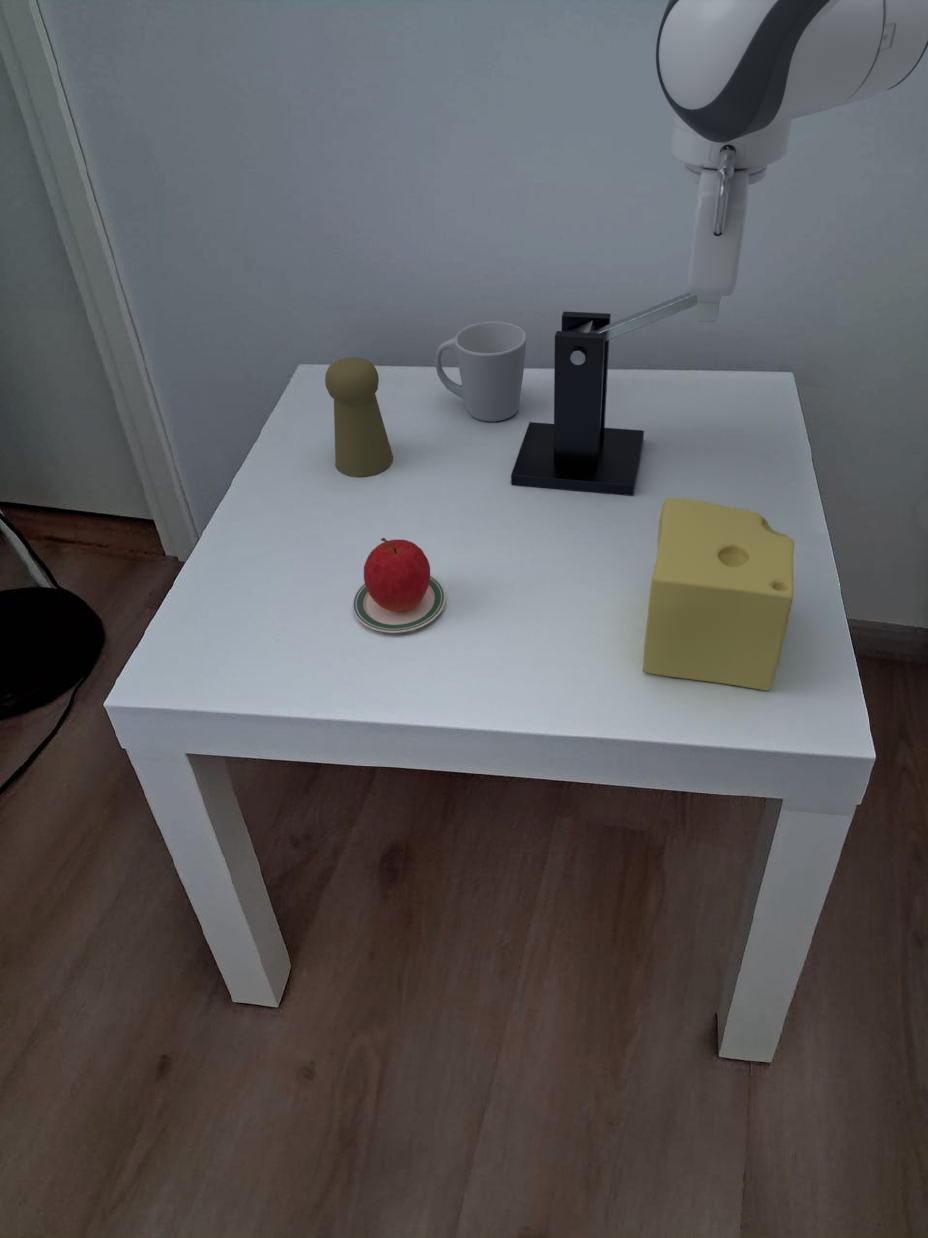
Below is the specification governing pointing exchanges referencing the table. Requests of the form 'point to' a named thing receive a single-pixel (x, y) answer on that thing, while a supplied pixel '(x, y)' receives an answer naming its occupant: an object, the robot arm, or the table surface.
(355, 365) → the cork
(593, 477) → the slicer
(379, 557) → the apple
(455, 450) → the table surface
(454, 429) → the table surface
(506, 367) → the cup
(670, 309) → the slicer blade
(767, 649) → the cheese
